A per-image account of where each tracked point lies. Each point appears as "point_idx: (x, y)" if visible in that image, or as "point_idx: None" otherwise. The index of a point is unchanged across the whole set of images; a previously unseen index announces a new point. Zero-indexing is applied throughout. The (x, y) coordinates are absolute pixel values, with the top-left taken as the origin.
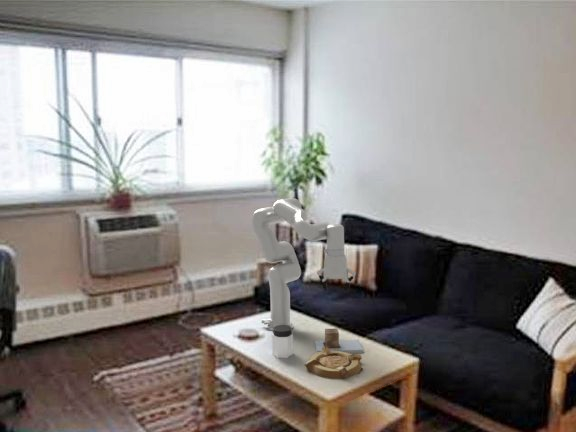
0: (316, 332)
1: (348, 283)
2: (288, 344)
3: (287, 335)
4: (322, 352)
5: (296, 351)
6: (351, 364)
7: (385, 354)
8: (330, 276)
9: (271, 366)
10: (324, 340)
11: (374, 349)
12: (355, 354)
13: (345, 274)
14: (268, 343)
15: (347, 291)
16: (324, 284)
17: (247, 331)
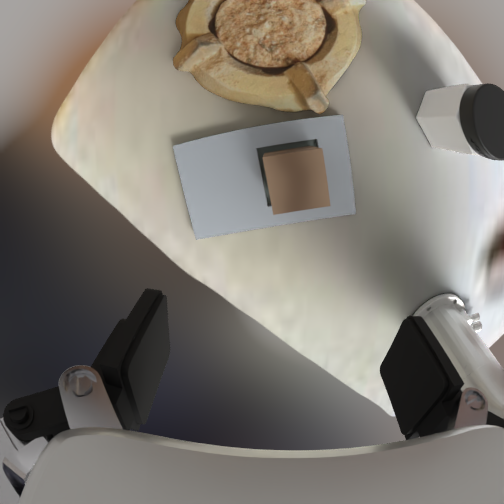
0: (343, 306)
1: (99, 370)
2: (447, 90)
3: (470, 88)
4: (322, 77)
5: (407, 142)
6: (208, 5)
7: (111, 153)
8: (447, 468)
9: (450, 43)
10: (321, 217)
11: (143, 186)
12: (191, 51)
13: (30, 494)
14: (475, 206)
15: (148, 293)
16: (448, 361)
17: (501, 283)
